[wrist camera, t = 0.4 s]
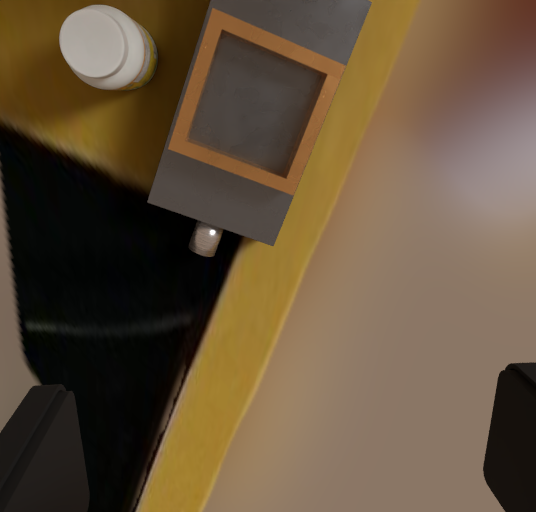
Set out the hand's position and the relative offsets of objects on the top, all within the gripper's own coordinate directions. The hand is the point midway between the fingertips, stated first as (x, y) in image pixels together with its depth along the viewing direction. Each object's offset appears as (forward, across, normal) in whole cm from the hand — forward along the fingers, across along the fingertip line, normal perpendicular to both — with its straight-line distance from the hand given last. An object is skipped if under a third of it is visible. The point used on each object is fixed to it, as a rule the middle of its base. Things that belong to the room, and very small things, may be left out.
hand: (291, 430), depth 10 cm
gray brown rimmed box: (+34, 0, -5) cm, 34 cm away
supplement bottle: (+34, +10, -10) cm, 37 cm away
